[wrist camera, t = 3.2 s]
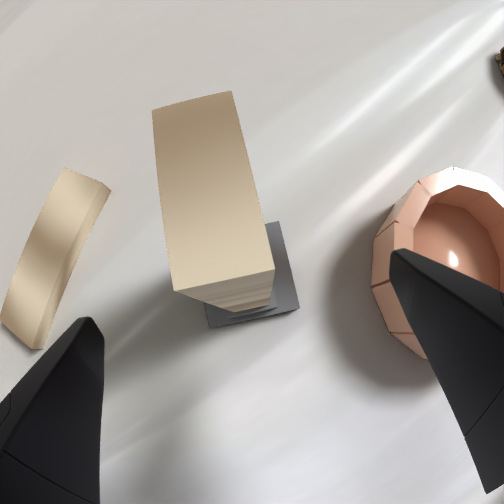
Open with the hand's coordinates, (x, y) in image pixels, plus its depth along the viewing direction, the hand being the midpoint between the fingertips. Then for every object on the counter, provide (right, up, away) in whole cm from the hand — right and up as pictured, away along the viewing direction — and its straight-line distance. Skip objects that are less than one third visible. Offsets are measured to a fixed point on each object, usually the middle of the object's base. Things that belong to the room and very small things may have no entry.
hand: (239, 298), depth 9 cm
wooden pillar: (0, 0, +10) cm, 10 cm away
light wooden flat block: (-13, +1, +11) cm, 17 cm away
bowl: (+13, 0, +9) cm, 16 cm away
